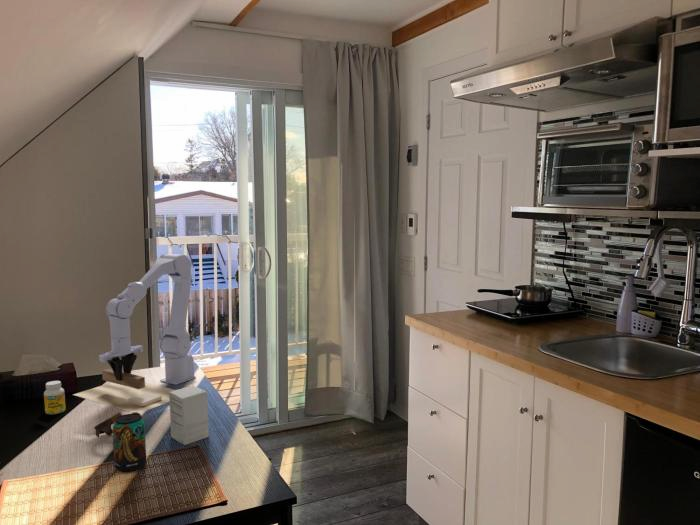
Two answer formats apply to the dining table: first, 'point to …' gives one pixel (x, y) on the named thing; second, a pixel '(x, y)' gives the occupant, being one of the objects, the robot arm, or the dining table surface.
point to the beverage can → (129, 443)
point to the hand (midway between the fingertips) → (123, 378)
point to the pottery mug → (108, 425)
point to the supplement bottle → (54, 398)
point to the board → (125, 396)
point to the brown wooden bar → (124, 379)
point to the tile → (144, 399)
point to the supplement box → (189, 414)
